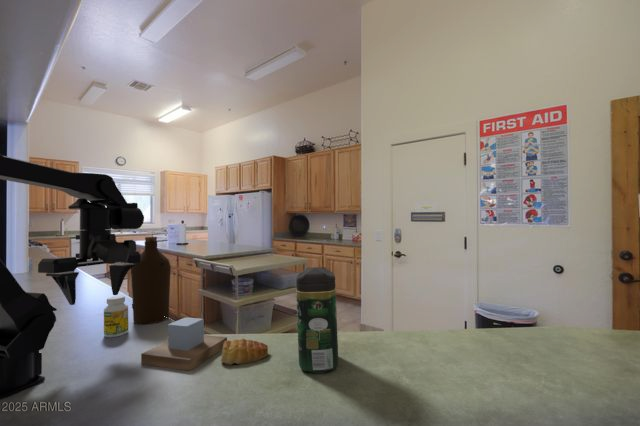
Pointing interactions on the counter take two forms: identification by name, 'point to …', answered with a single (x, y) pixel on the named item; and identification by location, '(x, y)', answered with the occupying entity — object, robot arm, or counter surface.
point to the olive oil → (150, 285)
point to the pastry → (243, 351)
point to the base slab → (183, 354)
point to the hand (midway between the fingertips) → (95, 299)
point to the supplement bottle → (115, 317)
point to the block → (185, 333)
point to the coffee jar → (317, 320)
